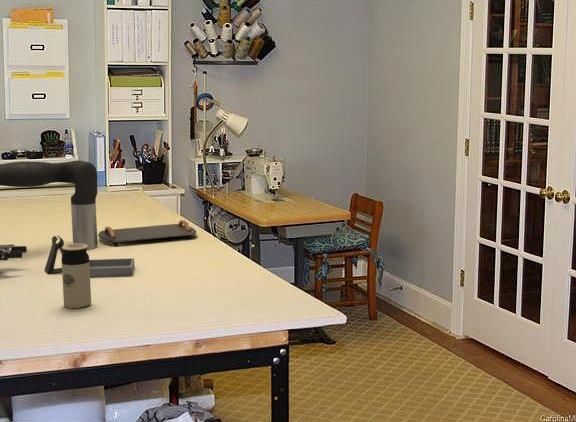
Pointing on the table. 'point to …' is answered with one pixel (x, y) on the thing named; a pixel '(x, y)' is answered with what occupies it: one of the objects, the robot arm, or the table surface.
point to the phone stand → (54, 256)
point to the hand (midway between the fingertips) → (24, 251)
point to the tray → (111, 267)
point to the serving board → (147, 232)
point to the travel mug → (76, 276)
